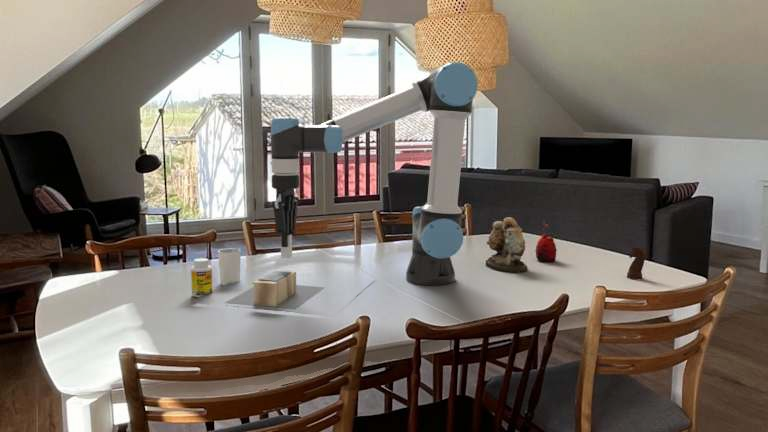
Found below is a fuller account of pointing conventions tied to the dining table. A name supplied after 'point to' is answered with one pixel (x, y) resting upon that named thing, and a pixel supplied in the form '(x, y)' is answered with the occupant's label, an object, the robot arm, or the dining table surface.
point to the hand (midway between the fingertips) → (286, 257)
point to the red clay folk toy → (546, 248)
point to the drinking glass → (229, 265)
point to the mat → (290, 303)
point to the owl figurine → (506, 247)
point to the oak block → (274, 287)
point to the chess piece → (636, 263)
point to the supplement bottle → (201, 277)
